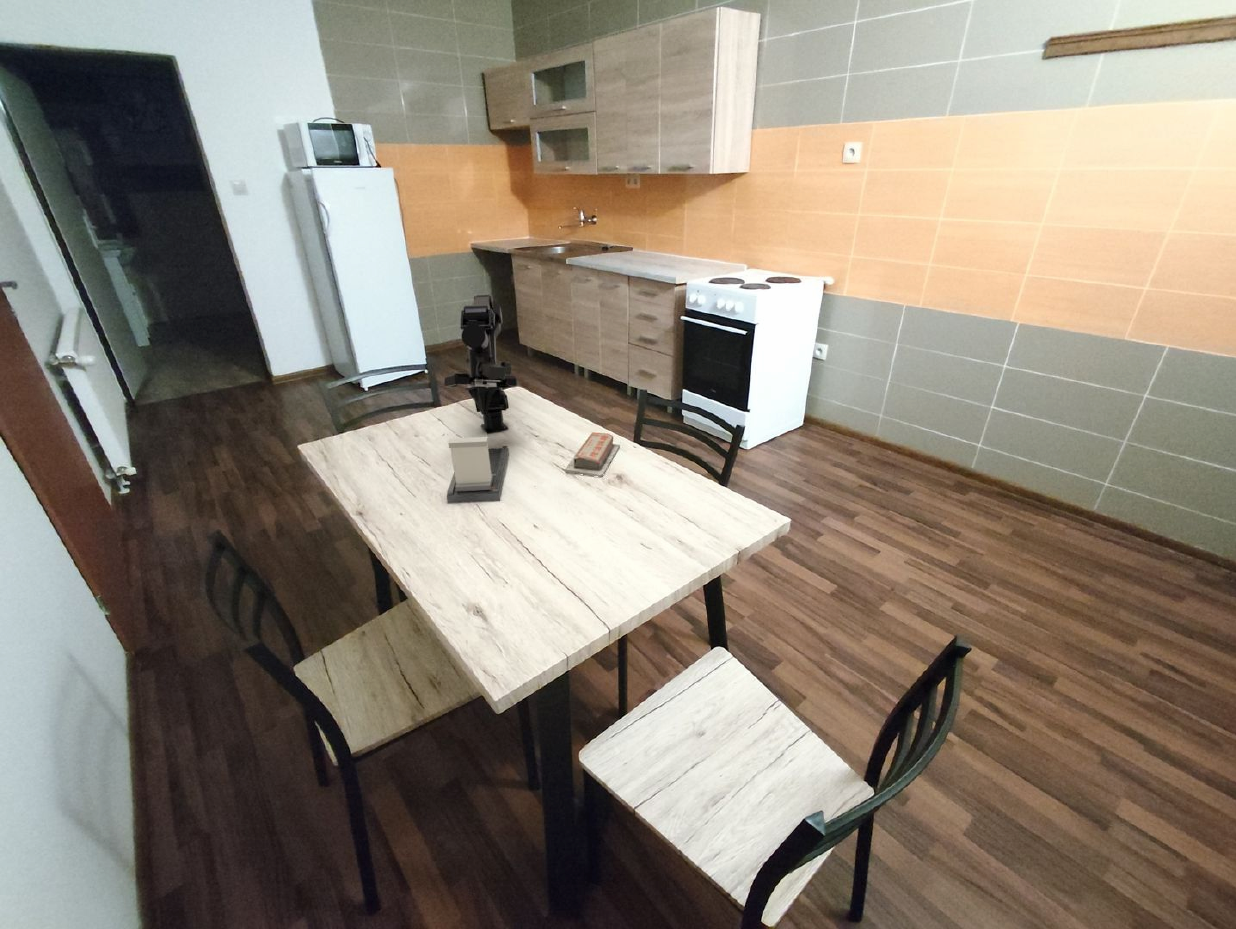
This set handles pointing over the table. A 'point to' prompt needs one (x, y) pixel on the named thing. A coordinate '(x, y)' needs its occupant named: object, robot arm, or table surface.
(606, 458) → the packaged product
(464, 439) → the fader paddle
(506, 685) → the table surface
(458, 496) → the tray
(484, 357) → the robot arm
